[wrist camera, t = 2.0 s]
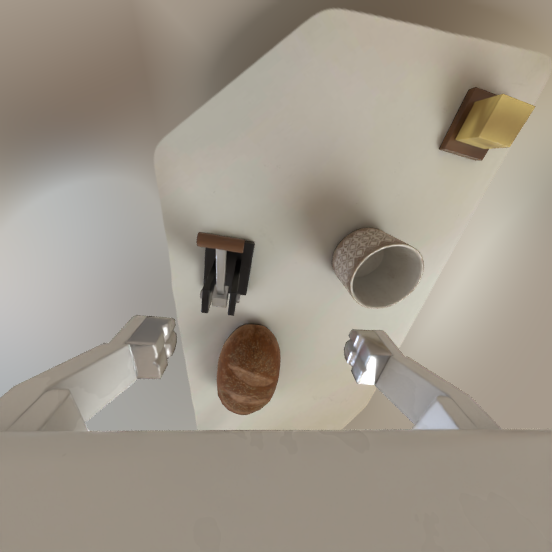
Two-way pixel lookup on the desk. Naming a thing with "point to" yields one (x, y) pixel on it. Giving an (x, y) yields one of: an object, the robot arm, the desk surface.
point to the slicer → (227, 275)
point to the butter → (485, 124)
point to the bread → (248, 369)
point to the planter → (377, 267)
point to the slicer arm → (220, 262)
